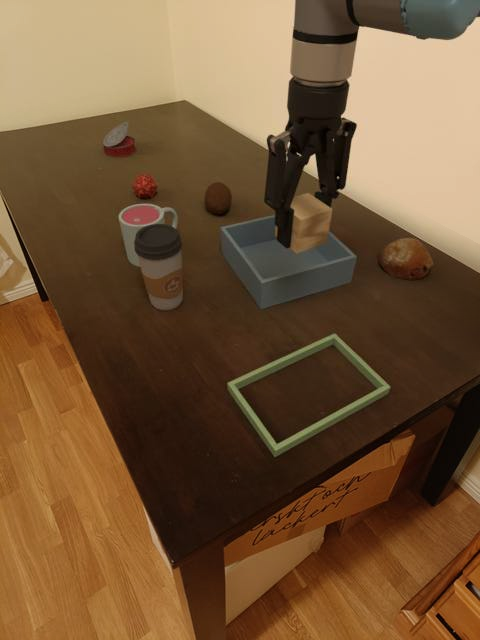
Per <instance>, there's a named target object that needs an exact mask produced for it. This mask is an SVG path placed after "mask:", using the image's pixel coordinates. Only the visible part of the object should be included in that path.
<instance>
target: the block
mask: <svg viewBox="0 0 480 640" xmlns="http://www.w3.org/2000/svg"><path fill="white" fill-rule="evenodd" d="M314 196H315V195H312V194H311V193H309V192H306V193H302V194H299V195H297V196H294V198H293V200H292V203H291V206H290V207H291V208H292V209H294V216H293V226H292V235H291V245H290V249H291V250H293V251H294V252H295V253H296V254H298V253H300V252H303V251H306V250H308V249H311V248H314V247H317V246H319V245H322V244H325V243H327V239H328V233H329V231H330V227H331V220H332V215H333V208H332V207H331V208H330V207H329V206H327V205H326V204H324V203H323V202H321V201H320V200H318V199H317V198H315V197H314ZM277 230H278V227H277V226H275V236H276V237H277Z"/></svg>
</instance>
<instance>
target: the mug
mask: <svg viewBox="0 0 480 640" xmlns="http://www.w3.org/2000/svg"><path fill="white" fill-rule="evenodd" d="M167 213H168V214H170V215H171V216H172V225H171V226H172V227H174V228H175V229H176V230H177V228H178V224H179V216H178V214H177V212H176V210H175V209H174V208H172V207H169V206H164V207H160V206H159V205H157V204H154V203H153V204H152V203H136V204H132V205H129V206H126V207H125V208H124V209H122V210H121V211H120V212H119V214H118V221H119V225H120V230H121V234H122V239H123V244H124V248H125V254H126V257H127V261H128V262H129V263H130V264H131V265H133V266H135V267H139V268H141V266H140V263H139V259H138V256H137V253H136V252H135V249H134V247H135V245H134V241H135V236H136V233H137V232H138V231H139V230H140V229H141V228H143V227H145V226H148V225H153V224H166V218H165V214H167Z"/></svg>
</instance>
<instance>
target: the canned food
mask: <svg viewBox="0 0 480 640" xmlns="http://www.w3.org/2000/svg"><path fill="white" fill-rule="evenodd" d="M129 127H130V123H129V121H124V122H122V123H120V124H118V125H117V126H115V127H114V128H112V130H110V131H109V132H108V133H107V134H106V135H105V137H104V139H103V140H102V146H103V150H104V154H105V156H108V157H111V158H125V157H129V156H132V155H133V154H135V153H136V151H137V148H136V141H135V140H136V139H135V138H134V137H132V136H129V135H127V134H128V131H129Z"/></svg>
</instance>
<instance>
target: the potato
mask: <svg viewBox="0 0 480 640" xmlns="http://www.w3.org/2000/svg"><path fill="white" fill-rule="evenodd" d="M232 200H233V195H232V191H231V189H230V188H229V186H228V185H226V184H225V183H223V182H218V181H215V182H213V183H211V184H209V185H208V186H207V188H206V190H205V193H204V203H205V206H206V208H207V210H208V211H209V212H211V213H212V214H214V215H223V214H224V213H226V212H227V211H228V209H230V206H231V204H232Z"/></svg>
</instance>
